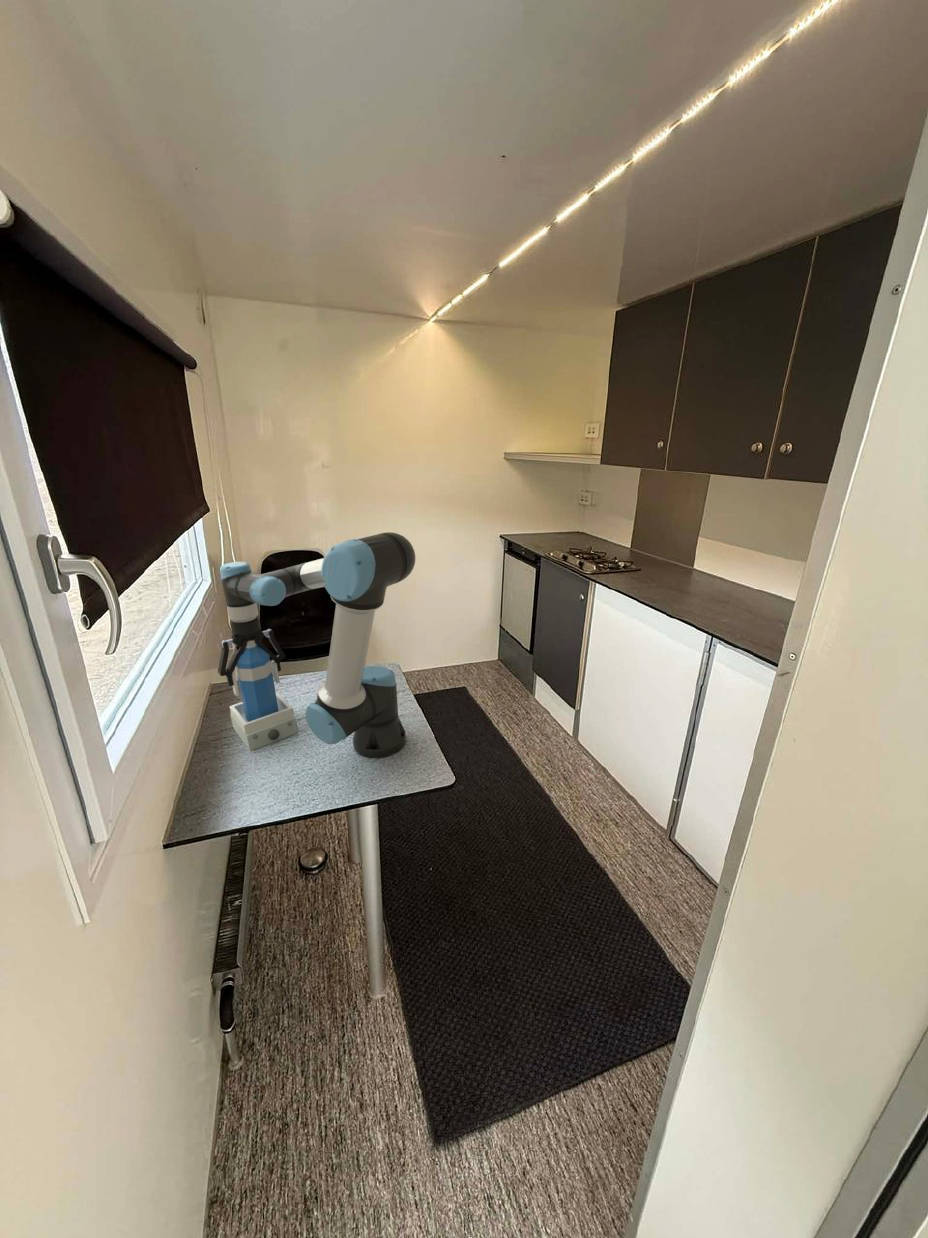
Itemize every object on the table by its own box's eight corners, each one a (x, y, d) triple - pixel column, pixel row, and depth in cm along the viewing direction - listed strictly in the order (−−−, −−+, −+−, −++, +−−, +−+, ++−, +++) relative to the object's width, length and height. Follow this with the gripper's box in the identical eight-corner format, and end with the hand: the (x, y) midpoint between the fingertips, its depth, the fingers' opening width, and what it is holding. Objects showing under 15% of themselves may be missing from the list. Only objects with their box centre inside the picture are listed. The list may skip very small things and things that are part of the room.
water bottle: (244, 726, 138) (228, 647, 129) (247, 710, 146) (233, 635, 138) (278, 721, 140) (264, 643, 132) (279, 705, 149) (267, 631, 140)
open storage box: (298, 733, 143) (295, 710, 140) (250, 752, 135) (245, 728, 132) (278, 711, 155) (274, 690, 152) (233, 727, 147) (228, 705, 144)
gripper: (280, 605, 142) (291, 671, 150) (194, 624, 128) (211, 696, 136) (290, 611, 137) (300, 679, 145) (201, 631, 123) (218, 706, 130)
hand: (257, 687), depth 140 cm, fingers open, 11 cm apart
